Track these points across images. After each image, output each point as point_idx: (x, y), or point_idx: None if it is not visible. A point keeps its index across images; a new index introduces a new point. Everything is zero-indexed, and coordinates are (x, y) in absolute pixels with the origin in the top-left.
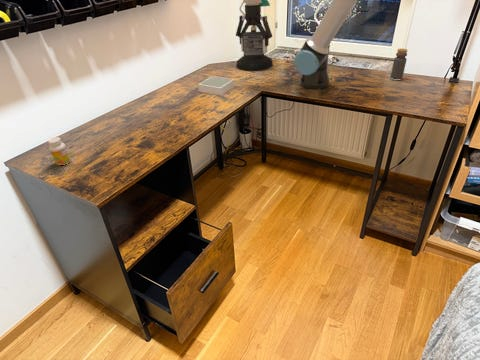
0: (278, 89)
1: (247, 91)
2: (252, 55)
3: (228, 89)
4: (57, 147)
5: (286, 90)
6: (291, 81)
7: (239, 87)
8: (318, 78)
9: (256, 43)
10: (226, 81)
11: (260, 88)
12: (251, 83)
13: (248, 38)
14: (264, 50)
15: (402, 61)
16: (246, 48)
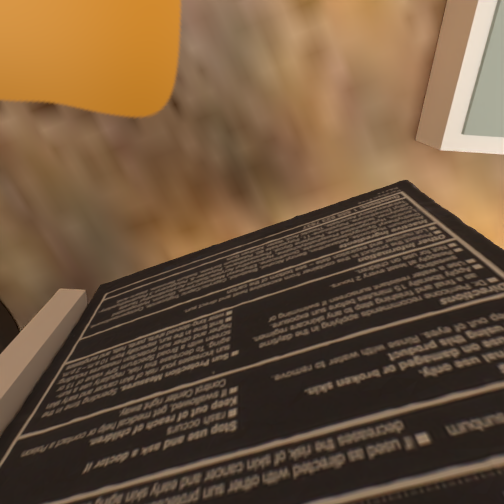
0: (83, 187)
1: (280, 71)
2: (264, 231)
3: (445, 27)
4: None
5: (24, 187)
6: None
7: (373, 133)
8: None
9: (160, 394)
10: (501, 51)
11: (211, 165)
12: None
13: (441, 471)
14: (37, 319)
15: None
16: (399, 250)
